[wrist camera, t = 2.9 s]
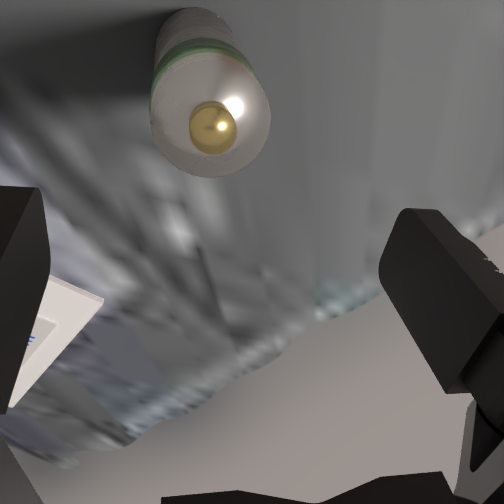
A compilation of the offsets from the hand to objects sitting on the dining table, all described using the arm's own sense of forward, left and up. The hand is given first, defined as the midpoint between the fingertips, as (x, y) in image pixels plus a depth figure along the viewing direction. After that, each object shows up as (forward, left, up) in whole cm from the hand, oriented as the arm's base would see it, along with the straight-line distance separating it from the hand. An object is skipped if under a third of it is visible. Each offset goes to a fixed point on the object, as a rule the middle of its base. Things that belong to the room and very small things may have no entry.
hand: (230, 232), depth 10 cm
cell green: (0, 0, -17) cm, 17 cm away
